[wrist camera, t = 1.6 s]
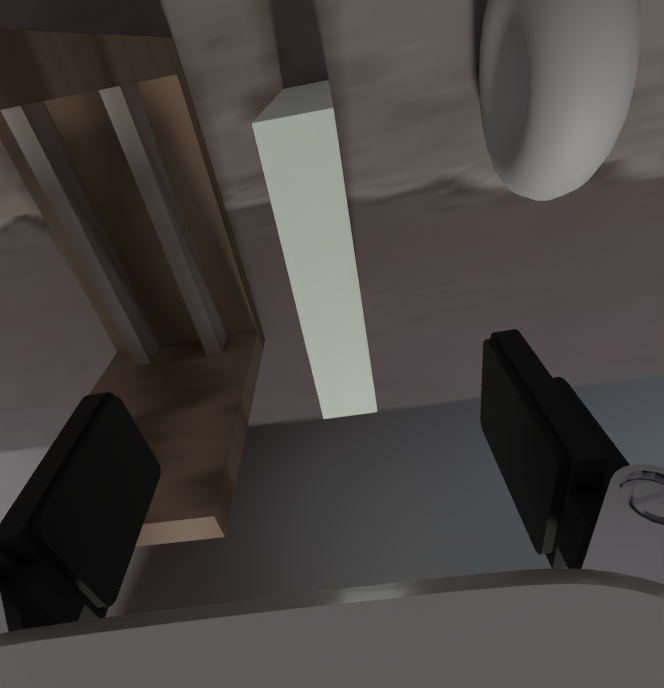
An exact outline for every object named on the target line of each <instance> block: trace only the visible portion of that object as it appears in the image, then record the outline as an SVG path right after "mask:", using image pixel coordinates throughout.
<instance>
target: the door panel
mask: <svg viewBox="0 0 664 688" xmlns="http://www.w3.org/2000/svg"><path fill="white" fill-rule="evenodd" d="M252 126H253V131H254V135H255V139H256V143H257V147H258V151H259V155H260V159H261V163H262V168H263V172H264V176H265V180H266V184H267V188H268V192H269V196H270V200H271V205H272V209H273V213H274V217H275V221H276V225H277V229H278V233H279V237H280V242H281V246H282V250H283V254H284V258H285V262H286V266H287V270H288V274H289V278H290V283H291V287H292V291H293V295H294V299H295V303H296V307H297V311H298V315H299V320H300V324H301V328H302V332H303V336H304V340H305V344H306V348H307V352H308V357H309V361H310V365H311V369H312V373H313V377H314V381H315V385H316V389H317V394H318V398H319V402H320V406H321V410H322V414H323V418H324V419H327V418H335V417H342V416H349V415H358V414H365V413H373V412H377V406H376V399H375V392H374V385H373V378H372V371H371V364H370V358H369V351H368V344H367V337H366V330H365V323H364V316H363V309H362V302H361V295H360V288H359V282H358V275H357V268H356V261H355V254H354V247H353V240H352V233H351V226H350V219H349V212H348V206H347V199H346V192H345V185H344V178H343V171H342V164H341V157H340V150H339V143H338V136H337V130H336V123H335V116H334V109H333V103H332V96H331V90H330V84H329V80H326V81H321V82H316V83H311V84H306V85H301V86H296V87H290V88H285V89H283V90H282V91H281V92H280V93H279V94H278V95H277V96H276V97H275V98H274V99H273V101H272V102H271V103H270V104H269V105H268V106H267V107H266V108H265V109H264V110H263V112H262V113H261V114H260V115H259V116H258V117H257V118H256V119H255V120H254V121H253V122H252Z"/></svg>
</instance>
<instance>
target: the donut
mask: <svg viewBox="0 0 664 688" xmlns="http://www.w3.org/2000/svg"><path fill="white" fill-rule="evenodd" d="M641 29H642V21H641V8H640V0H488V1H487V5H486V10H485V14H484V19H483V26H482V35H481V43H480V60H479V91H480V108H481V116H482V124H483V131H484V136H485V140H486V145H487V149H488V153H489V155H490V158H491V160H492V163H493V166H494V168H495V170H496V172H497V174H498V176H499V177H500V178H501V180H502V181H503V182H504V184H505V185H506V186H507V187H508V188H509V189H510V190H511V191H513V192H514V193H516V194H518V195H521V196H524V197H527V198H530V199H533V200H536V201H544V200H551V199H554V198H557V197H560V196H562V195H564V194H567V193H569V192H571V191H573V190H575V189H577V188H579V187H580V186H581V185H583V184H584V183H586V182H587V181H588V180H589V179H590V178H591V176H592V175H593V174H594V173H595V171H596V170H597V169H598V168H599V166H600V165H601V164H602V163H603V161H604V160H605V159H606V157H607V156H608V155H609V153H610V152H611V151H612V149H613V146H614V144H615V142H616V140H617V138H618V135H619V133H620V131H621V129H622V126H623V124H624V122H625V120H626V118H627V114H628V110H629V106H630V102H631V98H632V94H633V90H634V86H635V82H636V78H637V73H638V62H639V51H640V40H641Z"/></svg>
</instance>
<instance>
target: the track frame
mask: <svg viewBox="0 0 664 688" xmlns="http://www.w3.org/2000/svg"><path fill="white" fill-rule="evenodd" d="M0 139H1V141H2V143H3V144H4V146H5V148H6V150H7V152H8V154H9V155H10V157H11V159H12V161H13V163H14V164H15V166H16V168H17V170H18V172H19V174H20V175H21V177H22V179H23V181H24V183H25V184H26V186H27V188H28V190H29V192H30V194H31V195H32V197H33V199H34V201H35V203H36V205H37V206H38V208H39V210H40V212H41V214H42V215H43V217H44V219H45V221H46V223H47V225H48V226H49V228H50V230H51V232H52V234H53V235H54V237H55V239H56V241H57V243H58V245H59V246H60V248H61V250H62V252H63V254H64V256H65V257H66V259H67V261H68V263H69V265H70V266H71V268H72V270H73V272H74V274H75V276H76V277H77V279H78V281H79V283H80V285H81V287H82V288H83V290H84V292H85V294H86V296H87V297H88V299H89V301H90V303H91V305H92V307H93V308H94V310H95V312H96V314H97V316H98V317H99V319H100V321H101V323H102V325H103V327H104V328H105V330H106V332H107V334H108V336H109V338H110V339H111V341H112V343H113V345H114V347H115V348H116V350H117V354H116V355H115V357H114V358H113V360H112V361H111V363H110V364H109V366H108V367H107V369H106V370H105V372H104V373H103V375H102V376H101V378H100V379H99V381H98V382H97V384H96V385H95V386H94V388H93V389H92V391H91V392H90V394H89V395H91V394H98V393H104V392H111V393H112V394H114V396H117V397H120V398H121V400H122V401H123V403H124V404H125V406H126V408H127V410H128V411H129V413H130V415H131V416H132V418H133V420H134V422H135V423H136V425H137V427H138V428H139V430H140V432H141V433H142V435H143V437H144V439H145V440H146V442H147V444H148V445H149V447H150V449H151V451H152V452H153V454H154V456H155V457H156V459H157V461H158V462H159V465H160V468H161V475H160V479H159V482H158V484H157V487H156V490H155V493H154V496H153V498H152V501H151V504H150V507H149V510H148V512H147V515H146V518H145V521H144V524H143V526H142V529H141V532H140V535H139V538H138V540H137V543H136V546H145V545H154V544H163V543H171V542H172V543H173V542H182V541H190V540H200V539H209V538H218V537H225V534H226V529H227V524H228V519H229V514H230V509H231V504H232V499H233V494H234V489H235V485H236V480H237V475H238V470H239V465H240V460H241V455H242V450H243V445H244V440H245V435H246V431H247V426H248V421H249V416H250V411H251V406H252V401H253V396H254V391H255V386H256V381H257V377H258V372H259V367H260V362H261V357H262V352H263V347H264V342H265V338H264V335H263V332H262V328H261V325H260V322H259V318H258V315H257V312H256V309H255V305H254V302H253V299H252V296H251V292H250V289H249V286H248V282H247V279H246V276H245V273H244V269H243V266H242V263H241V260H240V256H239V253H238V250H237V246H236V243H235V240H234V237H233V233H232V230H231V227H230V224H229V220H228V217H227V214H226V210H225V207H224V204H223V201H222V197H221V194H220V191H219V188H218V184H217V181H216V178H215V174H214V171H213V168H212V165H211V161H210V158H209V155H208V152H207V148H206V145H205V142H204V138H203V135H202V132H201V129H200V125H199V122H198V119H197V116H196V112H195V109H194V106H193V102H192V99H191V96H190V93H189V89H188V86H187V83H186V80H185V76H184V73H183V70H182V66H181V63H180V60H179V57H178V53H177V50H176V47H175V44H174V40H173V37H153V36H133V35H112V34H91V33H71V32H50V31H29V30H9V29H0ZM136 546H135V547H136Z"/></svg>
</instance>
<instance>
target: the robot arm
mask: <svg viewBox="0 0 664 688" xmlns="http://www.w3.org/2000/svg"><path fill="white" fill-rule="evenodd" d="M480 418H481V426H482V430H483V432H484V435H485V437H486V439H487V441H488V444H489V446H490V448H491V451H492V453H493V455H494V458H495V460H496V462H497V464H498V467H499V469H500V471H501V473H502V476H503V478H504V480H505V483H506V485H507V487H508V489H509V492H510V494H511V496H512V498H513V501H514V503H515V505H516V508H517V510H518V512H519V514H520V517H521V519H522V521H523V523H524V526H525V528H526V530H527V532H528V534H529V537H530V539H531V542H532V544H533V546H534V548H535V550H536V552H537V553H538V554H546V556H547V558H548V561H549V563H550V565H551V567H552V569H535V570H517V571H506V572H495V573H486V574H475V575H464V576H455V577H445V578H435V579H426V580H418V581H409V582H400V583H391V584H382V585H373V586H364V587H356V588H348V589H338V590H329V591H321V592H312V593H304V594H296V595H288V596H279V597H270V598H262V599H254V600H245V601H237V602H229V603H221V604H213V605H204V606H196V607H187V608H179V609H172V610H163V611H155V612H147V613H139V614H131V615H123V616H116V617H107V618H105V616H106V613H107V610H108V608H109V606H112V605H113V604H114V602H115V601H116V599H117V596H118V593H119V591H120V588H121V585H122V582H123V579H124V577H125V574H126V571H127V568H128V565H129V563H130V560H131V557H132V554H133V552H134V549H135V546H136V543H137V540H138V538H139V535H140V532H141V529H142V526H143V524H144V521H145V518H146V515H147V512H148V510H149V507H150V504H151V501H152V498H153V496H154V493H155V490H156V487H157V484H158V482H159V479H160V475H161V468H160V465H159V462H158V461H157V459H156V457H155V456H154V454H153V452H152V451H151V449H150V447H149V445H148V444H147V442H146V440H145V439H144V437H143V435H142V433H141V432H140V430H139V428H138V427H137V425H136V423H135V422H134V420H133V418H132V416H131V415H130V413H129V411H128V410H127V408H126V406H125V404H124V403H123V401H122V400H121V398H120V397H117V396H114V394H112V393H111V392H104V393H98V394H91V395H87V396H85V397H84V398H83V399H82V400H81V402H80V403H79V405H78V406H77V408H76V409H75V411H74V412H73V414H72V415H71V417H70V418H69V420H68V421H67V423H66V424H65V426H64V427H63V429H62V430H61V432H60V433H59V435H58V437H57V438H56V440H55V441H54V443H53V444H52V446H51V447H50V449H49V450H48V452H47V453H46V455H45V456H44V458H43V459H42V461H41V462H40V464H39V465H38V467H37V469H36V470H35V471H34V473H33V474H32V476H31V478H30V479H29V481H28V482H27V484H26V485H25V487H24V488H23V490H22V491H21V493H20V494H19V496H18V497H17V499H16V500H15V502H14V503H13V505H12V506H11V508H10V509H9V511H8V512H7V514H6V516H5V517H4V519H3V520H2V521H1V523H0V688H664V468H661V467H657V466H653V465H644V464H634V465H630V464H629V463H628V462H627V461H626V459H625V458H624V457H623V455H622V454H621V453H620V451H619V450H618V449H617V447H616V446H615V445H614V443H613V442H612V441H611V440H610V438H609V437H608V436H607V434H606V433H605V431H604V430H603V429H602V427H601V426H600V425H599V424H598V422H597V421H596V420H595V419H594V417H593V416H592V414H591V413H590V412H589V410H588V409H587V408H586V406H585V405H584V404H583V402H582V401H581V400H580V398H579V397H578V396H577V394H576V393H575V392H574V390H573V389H572V388H571V386H570V385H569V384H568V383H567V382H566V381H565V380H564V379H563V378H561V377H556V378H552V376H551V375H550V374H549V372H548V371H547V369H546V368H545V367H544V365H543V364H542V363H541V361H540V360H539V358H538V357H537V356H536V354H535V353H534V351H533V350H532V349H531V347H530V346H529V345H528V343H527V342H526V340H525V339H524V338H523V336H522V335H521V333H520V332H519V331H518V330H516V329H513V330H507V331H500V332H494V333H492V334H491V337H490V339H487V340H484V343H483V365H482V391H481V416H480ZM565 567H568V569H565Z"/></svg>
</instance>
